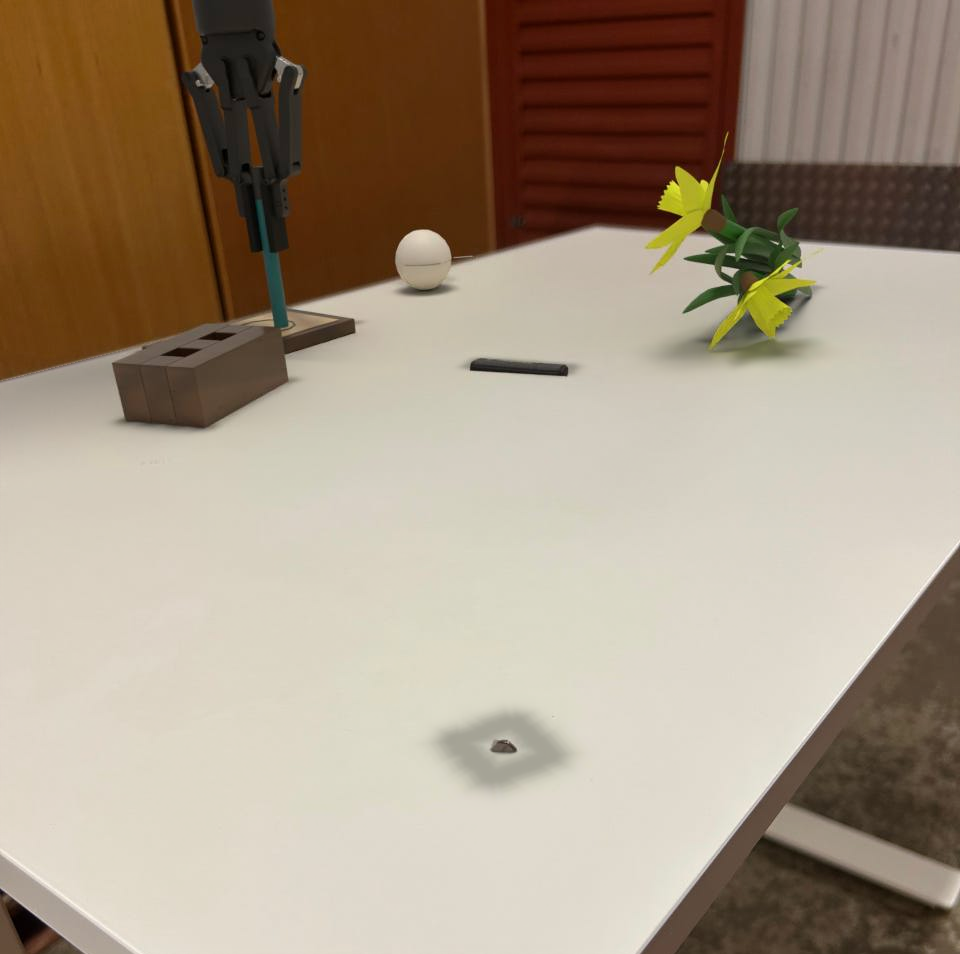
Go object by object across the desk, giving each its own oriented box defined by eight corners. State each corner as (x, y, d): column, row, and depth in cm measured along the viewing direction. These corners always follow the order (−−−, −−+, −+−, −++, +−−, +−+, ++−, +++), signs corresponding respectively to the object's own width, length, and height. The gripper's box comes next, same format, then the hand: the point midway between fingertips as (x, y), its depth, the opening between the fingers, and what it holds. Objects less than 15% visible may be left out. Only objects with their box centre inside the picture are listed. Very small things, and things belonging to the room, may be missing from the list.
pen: (270, 327, 109) (246, 167, 101) (278, 323, 111) (255, 165, 102) (284, 328, 109) (260, 167, 100) (292, 324, 110) (269, 165, 102)
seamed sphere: (390, 295, 128) (384, 235, 124) (407, 283, 134) (402, 225, 130) (464, 295, 126) (461, 234, 122) (479, 283, 132) (476, 224, 128)
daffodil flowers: (879, 309, 113) (821, 284, 83) (759, 370, 120) (666, 367, 91) (821, 171, 112) (742, 97, 83) (705, 241, 120) (594, 197, 91)
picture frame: (213, 376, 99) (210, 359, 98) (144, 360, 106) (140, 344, 105) (356, 332, 112) (354, 317, 111) (286, 320, 119) (284, 306, 118)
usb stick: (571, 377, 93) (571, 361, 92) (561, 385, 91) (561, 368, 90) (479, 370, 97) (479, 354, 96) (468, 377, 94) (467, 361, 94)
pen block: (127, 432, 86) (111, 362, 82) (217, 386, 96) (205, 323, 93) (207, 439, 83) (193, 368, 80) (290, 391, 94) (280, 326, 91)
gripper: (317, -19, 94) (347, 244, 106) (188, -8, 99) (231, 243, 111) (276, -22, 88) (313, 258, 100) (141, -9, 93) (191, 256, 105)
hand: (270, 249), depth 106 cm, fingers closed on pen, 2 cm apart
